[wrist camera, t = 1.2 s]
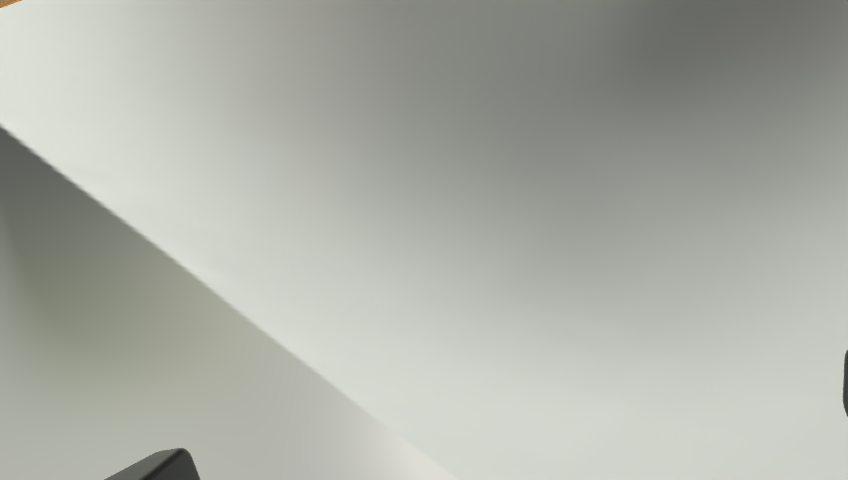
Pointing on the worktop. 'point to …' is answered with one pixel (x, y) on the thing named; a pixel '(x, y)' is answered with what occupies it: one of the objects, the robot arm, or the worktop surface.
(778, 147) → the worktop surface
